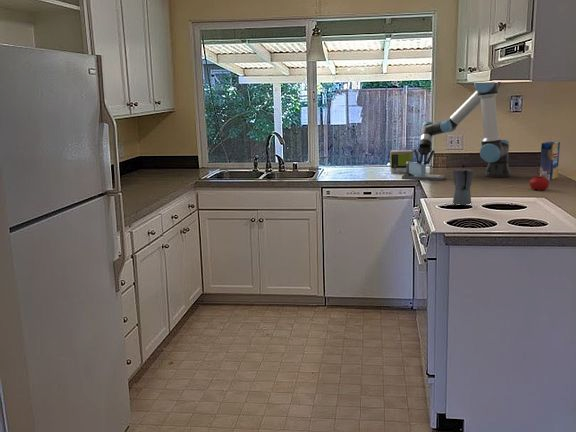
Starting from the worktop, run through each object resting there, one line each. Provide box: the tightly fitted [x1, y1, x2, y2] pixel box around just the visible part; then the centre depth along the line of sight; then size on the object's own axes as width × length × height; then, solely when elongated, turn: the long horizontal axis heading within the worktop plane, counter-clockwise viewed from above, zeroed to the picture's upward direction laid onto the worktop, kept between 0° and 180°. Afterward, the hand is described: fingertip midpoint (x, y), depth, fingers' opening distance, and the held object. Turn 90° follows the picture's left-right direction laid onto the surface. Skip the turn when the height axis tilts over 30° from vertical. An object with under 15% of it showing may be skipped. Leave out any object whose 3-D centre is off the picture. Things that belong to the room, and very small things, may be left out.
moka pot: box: [452, 164, 474, 205], centre depth 297 cm, size 10×15×20 cm, turn 178°
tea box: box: [389, 149, 415, 174], centre depth 411 cm, size 15×10×15 cm, turn 84°
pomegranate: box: [529, 172, 550, 191], centre depth 336 cm, size 10×10×9 cm
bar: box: [405, 161, 427, 177], centre depth 381 cm, size 22×4×7 cm, turn 13°
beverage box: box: [539, 141, 561, 181], centre depth 371 cm, size 7×11×22 cm, turn 136°
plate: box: [401, 173, 446, 182], centre depth 384 cm, size 25×12×3 cm, turn 66°
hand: (421, 172), depth 380 cm, fingers closed
